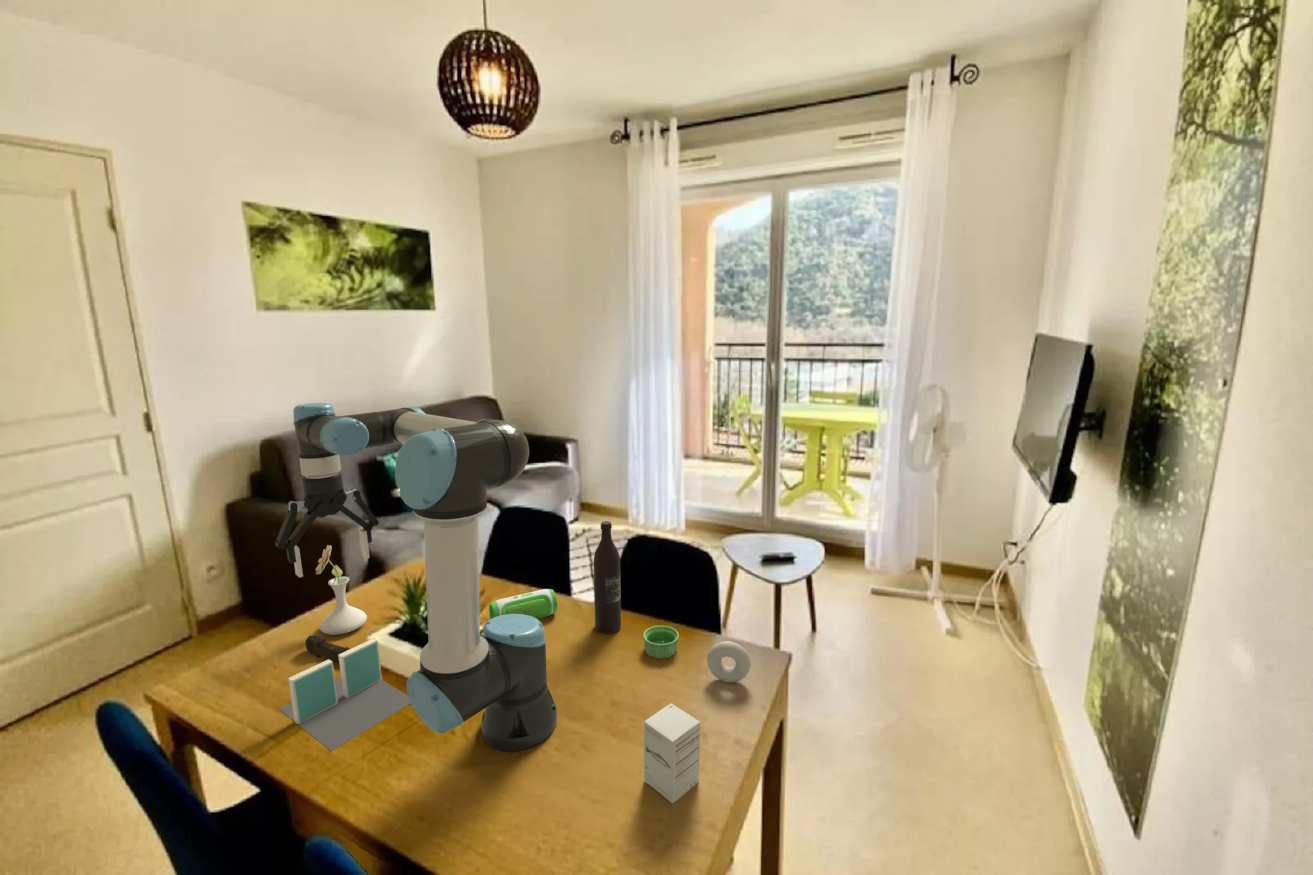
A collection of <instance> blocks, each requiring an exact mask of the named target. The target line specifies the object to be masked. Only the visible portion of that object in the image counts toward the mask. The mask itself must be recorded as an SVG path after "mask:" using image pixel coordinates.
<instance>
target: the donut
mask: <svg viewBox="0 0 1313 875" xmlns="http://www.w3.org/2000/svg"><path fill="white" fill-rule="evenodd" d="M726 657H728V658H732V659H733V660H734V662H735V665H733V666H727V665H725V664H724V663H723V660H722V659H723V658H726ZM706 661H707V667H708V670H709V671H710V673H711V674H712V675H713V676H714V677H715V678H716V679H718V680H720V681H722V682H724V683H728V682H729V683H730V682H732V683H737V682H740V681H742V680H744V679H745V678H746V677H747V675H748V674H749V673H750V669H751V664H752V663H751V658H750V655H749V654H748V652H747V650H746V649H745V648H744V647H743V646H742V645H740V644H738V643H737V642H734V641H731V640H726V641H720V642H717V643H715V644H714V645H713V646H711V648H710V649H709V651H708V652H707V658H706Z"/></svg>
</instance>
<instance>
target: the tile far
mask: <svg viewBox="0 0 1313 875" xmlns="http://www.w3.org/2000/svg"><path fill="white" fill-rule="evenodd" d="M338 657H339V662H338V663H339V670H340V673H339V674H340V677H341V681H342V689H343V696H345V697H346V698H349V697H351V696H352V695H354V694H356V693H358V692H360V691H362V690H364V689H365V688H367V687H369V686H371V685H373V684H375V683H377V682H378V681H380V680H383V676H382V669H381V668H382V667H381V659H380V650H379V641H378V639H376V638H371V639H370V640H367V641H365V642H363V643H360V644H359V645H356V646H354V647H352V648H350V650H347V651H345V652H343V653H341V654H339V655H338Z"/></svg>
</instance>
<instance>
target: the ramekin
mask: <svg viewBox="0 0 1313 875" xmlns="http://www.w3.org/2000/svg"><path fill="white" fill-rule="evenodd" d="M679 636H680V634H679V632H678V631H677V629H675V628H673V627H671V626H668V625H654V626H653V625H652V626H651V627H649V628H647V629H645V631H644V632H643V636H642V637H643V641H644V642H643V643H644V650H645V653H646V652H647V653H646V654H647V655H648V656H649V657H651V656H653V657H652V658H654V657H655V658H654V659H658V658H664V659H667V658H666V657H669V656H671V655H673V654H674V655H676V653H677V651H676V650H678V640H679ZM662 641H664V642H662ZM675 652H676V653H675ZM674 655H673V656H674ZM671 657H672V656H671ZM669 658H670V657H669Z"/></svg>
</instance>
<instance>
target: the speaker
mask: <svg viewBox="0 0 1313 875" xmlns="http://www.w3.org/2000/svg"><path fill="white" fill-rule="evenodd" d="M488 607H489V608H488V610H489V620H490V619H492V618H494V617H497V616H501V615H506V614H523V615H528V616H532V617H534V618H536V619H538V620H540V619H542V618H544V617H549V616H551V615H552V614H553V615H554V613H557V611H558V599H557V595H556V593H555V591H554V589H551V588H544V589H539V590H534V591H531V592H526V593H521V594H517V595H514V596H513V595H512V596H508V597H504V598H500V599H497V600H495V601H492V602H491V603H489V606H488Z"/></svg>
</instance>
